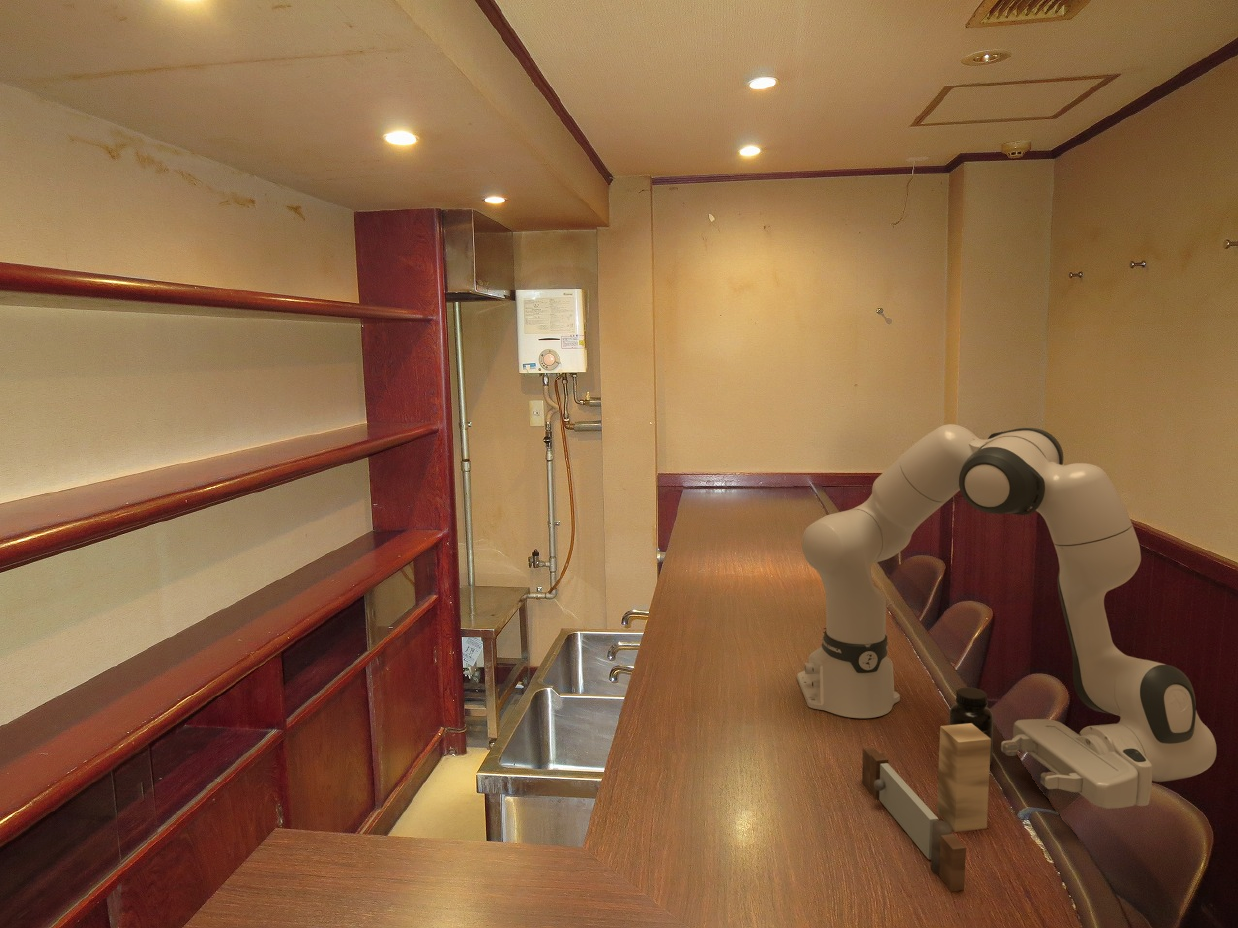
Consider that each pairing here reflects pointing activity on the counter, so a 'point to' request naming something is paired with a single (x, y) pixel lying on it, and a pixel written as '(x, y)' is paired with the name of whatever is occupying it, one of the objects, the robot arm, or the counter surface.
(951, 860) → the gate frame
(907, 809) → the gate
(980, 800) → the beech block
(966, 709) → the supplement bottle
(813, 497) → the counter surface
